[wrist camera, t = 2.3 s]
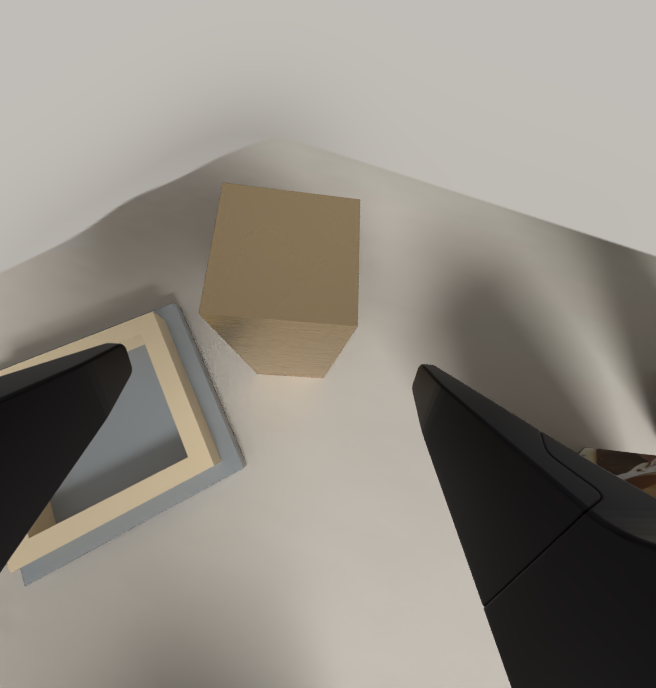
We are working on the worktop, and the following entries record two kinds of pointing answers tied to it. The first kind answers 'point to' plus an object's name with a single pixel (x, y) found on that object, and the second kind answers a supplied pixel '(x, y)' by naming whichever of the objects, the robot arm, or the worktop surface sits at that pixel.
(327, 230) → the brown wooden block
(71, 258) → the worktop surface
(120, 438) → the dock
